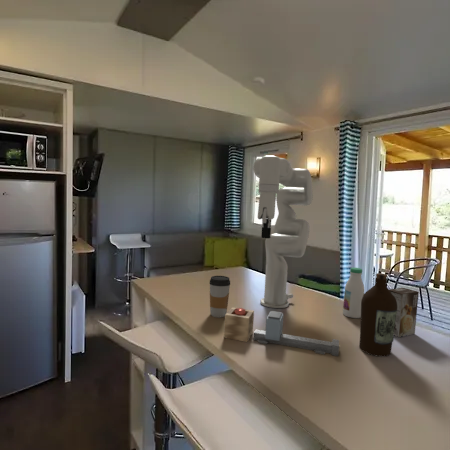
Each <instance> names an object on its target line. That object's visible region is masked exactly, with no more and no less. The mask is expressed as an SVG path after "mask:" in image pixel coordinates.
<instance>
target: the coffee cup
mask: <svg viewBox="0 0 450 450" xmlns="http://www.w3.org/2000/svg"><path fill="white" fill-rule="evenodd" d="M230 285H231V280H230V277H229V276H226V275H213V276H211V277H210V279H209V307H210V312H209V313H210V315H211V317H213V318H225V314H226V313H227V312H228V306H229V295H230V288H231V287H230Z"/></svg>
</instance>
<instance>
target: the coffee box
mask: <svg viewBox="0 0 450 450" xmlns="http://www.w3.org/2000/svg"><path fill="white" fill-rule="evenodd" d="M388 289H389V288H388ZM389 291H390V292H391V293H392V294H393V295H394V297H395V298H396V301H397V314H396V320H395V327H394V333H393V336H394V335H395V336H394V337H397V336H398V337H397V338H402V337H401V336H403V337H406V336H405V335H407V336H411V335H416V334H415V333H416V323H417V315H418V314H417V313H418V303H419V291H417V290H415V289H414V290H412V289H410V288H407V287H406V288H405V287H398V288H390V289H389Z"/></svg>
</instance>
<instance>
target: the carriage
mask: <svg viewBox="0 0 450 450" xmlns="http://www.w3.org/2000/svg"><path fill="white" fill-rule="evenodd" d="M283 327H284V313H283V312H280V311H275V310H270V311H269V313H268V315H267V317H266V321H265V331H266V333H265V336H266V339H271V340H277V341H279V340H280V335H281V334H283Z"/></svg>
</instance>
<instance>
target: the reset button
mask: <svg viewBox="0 0 450 450" xmlns="http://www.w3.org/2000/svg"><path fill="white" fill-rule="evenodd" d="M235 308H236V309H235V315H241V316H245V308H242V307H235Z"/></svg>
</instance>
